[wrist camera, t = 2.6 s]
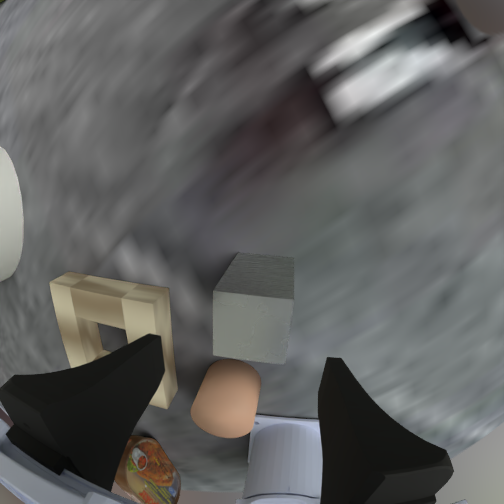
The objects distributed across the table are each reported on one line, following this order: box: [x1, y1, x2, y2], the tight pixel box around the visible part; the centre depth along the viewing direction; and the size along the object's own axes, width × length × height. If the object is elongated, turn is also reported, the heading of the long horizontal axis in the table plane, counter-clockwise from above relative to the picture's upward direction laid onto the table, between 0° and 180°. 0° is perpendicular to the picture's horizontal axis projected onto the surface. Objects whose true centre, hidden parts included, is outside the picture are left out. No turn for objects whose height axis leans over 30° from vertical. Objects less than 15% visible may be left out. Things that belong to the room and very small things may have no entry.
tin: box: [114, 435, 181, 504], centre depth 27 cm, size 15×3×8 cm, turn 9°
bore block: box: [49, 272, 178, 409], centre depth 23 cm, size 11×11×3 cm
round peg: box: [191, 359, 261, 438], centre depth 22 cm, size 5×5×5 cm
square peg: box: [213, 252, 294, 364], centre depth 18 cm, size 4×4×7 cm
